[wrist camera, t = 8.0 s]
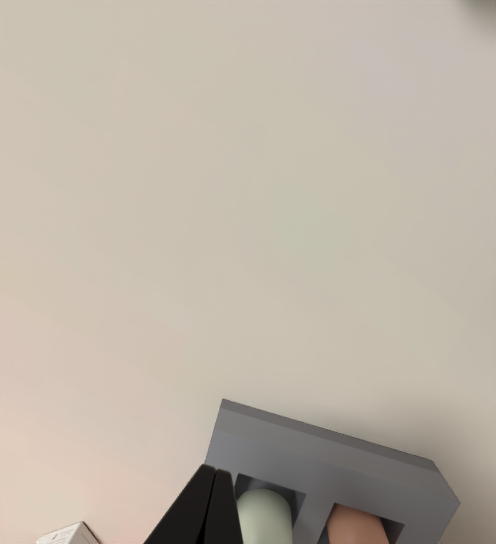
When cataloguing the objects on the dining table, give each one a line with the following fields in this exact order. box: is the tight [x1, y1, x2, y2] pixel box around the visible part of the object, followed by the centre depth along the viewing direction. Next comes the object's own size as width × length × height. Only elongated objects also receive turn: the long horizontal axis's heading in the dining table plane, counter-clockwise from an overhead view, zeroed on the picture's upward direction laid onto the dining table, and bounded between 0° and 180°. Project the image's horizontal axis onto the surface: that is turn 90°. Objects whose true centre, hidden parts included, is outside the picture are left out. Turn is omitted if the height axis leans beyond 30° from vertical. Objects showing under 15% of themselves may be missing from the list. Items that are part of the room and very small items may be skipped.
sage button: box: [237, 488, 293, 544], centre depth 17 cm, size 4×4×3 cm
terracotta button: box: [326, 503, 389, 544], centre depth 18 cm, size 4×4×3 cm
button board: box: [205, 399, 460, 544], centre depth 21 cm, size 17×19×3 cm
